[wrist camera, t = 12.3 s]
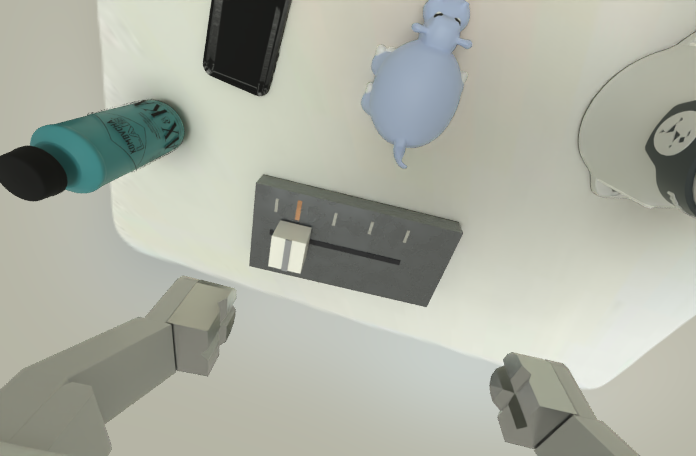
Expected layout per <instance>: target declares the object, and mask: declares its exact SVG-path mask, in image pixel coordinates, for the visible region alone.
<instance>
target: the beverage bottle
mask: <svg viewBox="0 0 696 456" xmlns="http://www.w3.org/2000/svg"><path fill="white" fill-rule="evenodd" d="M140 101H141V100H140ZM131 103H132V102H131ZM131 103H130V105H126V106H122V107H118V108H114V109H110V110H109V109H108V110H106V111H102V112H98V113H94V114H93V113H92V114H90V115H87V116H84V117H80V118H76V119H73V120H69V121H65V122H61V123H57V124H50V125H45V126H42V127H40V128H38V129H37V130H36V131H35V132H34V133H33V135H32V138H31V142H30V146H23V147H19V148H17V149H14V150H13V151H11V152H9V153H6V154H3V155H1V156H0V183H1V184H2V185H3V186H4V187H5V188H6V189H7V190H8V191H9V192H11V193H12V194H14V195H15V196H17V197H19V198H21V199H24V200H28V201H39V200H42V199H45V198H48V197H50V196H54V195H57V194H59V193H61V192H63V191H64V190H65V189H66V190H68V191H72V192H76V193H90V192H93V191H95V190H97V189H99V188H100V187H101V186H103V185H105V184H107V183H109V182H111V181H113V180H115V179H117V178H119V177H121V176H123V175H125V174H127V173H129V172H132V171H134V170H135V169H137V168H139V167H142V166H143V165H145V166H146V164H147V163H149V162H150V163H151V162H153V160H155V159H157V158H159V157H160V158H161V156H162V155H164V154H166V153H168V154H169V152H170V151H172V150H173V151H174V150H176V149H175V148H177V147H178V146H179V145H180V143H182V140H183V137H184V126H183V123H182V121H181V119H180V117H179V115H178V114H177V113H176V112H175V111H174V110H173V109H172V108H171V107H170V106H168V105H167V104H165V103H163V102H160V101H157V100H156V101H155V100H154V99H153V100H143V101H141V102H139V101H138V103H134V102H133V103H134V104H131ZM127 104H128V103H127ZM123 105H124V104H123ZM178 148H179V147H178ZM178 148H177V149H178ZM173 151H172V152H173ZM170 153H171V152H170ZM166 155H167V154H166ZM164 156H165V155H164ZM162 157H163V156H162ZM157 160H158V159H157ZM155 161H156V160H155ZM142 168H143V167H142Z"/></svg>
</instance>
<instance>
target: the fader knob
mask: <svg viewBox="0 0 696 456" xmlns="http://www.w3.org/2000/svg"><path fill="white" fill-rule="evenodd" d="M311 229H312V228H311V227H307V226H303V225H298V224H294V223H290V222H286V221H282V220H280V222H279V224H278V225H277V227H276V229H275V231H274V233H273V235H272V239H271V247H270V255H269V263H268V266H269V267H274V268H278V269H281V270H282V271H286V272H287V271H291V272H295V273H299V274H300V273H301V270H302V267H303V264H304V261H305V258H306V255H307V250H308V245H309V240H310V235H311Z"/></svg>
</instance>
